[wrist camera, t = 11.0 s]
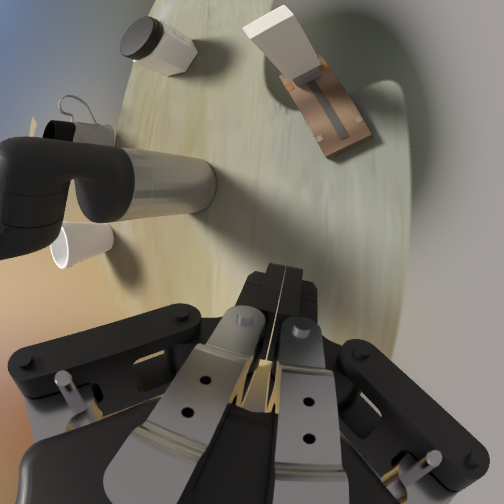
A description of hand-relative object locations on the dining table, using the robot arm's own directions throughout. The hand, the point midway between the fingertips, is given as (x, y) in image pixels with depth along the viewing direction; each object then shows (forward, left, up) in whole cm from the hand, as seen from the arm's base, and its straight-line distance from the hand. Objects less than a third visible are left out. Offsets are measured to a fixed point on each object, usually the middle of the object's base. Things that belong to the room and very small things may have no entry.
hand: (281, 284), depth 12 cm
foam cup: (-46, -21, -27) cm, 58 cm away
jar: (-38, +20, -27) cm, 51 cm away
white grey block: (-12, +19, -25) cm, 33 cm away
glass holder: (-55, +2, -27) cm, 62 cm away
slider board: (-8, +15, -27) cm, 32 cm away
